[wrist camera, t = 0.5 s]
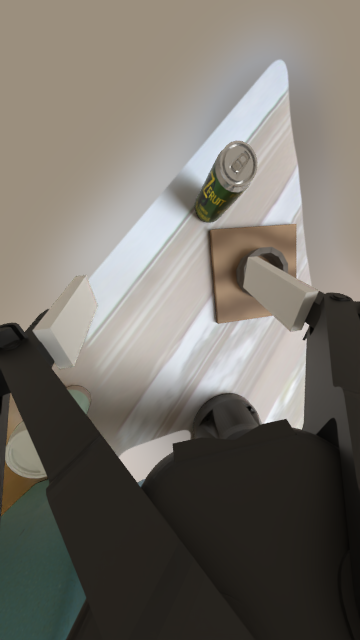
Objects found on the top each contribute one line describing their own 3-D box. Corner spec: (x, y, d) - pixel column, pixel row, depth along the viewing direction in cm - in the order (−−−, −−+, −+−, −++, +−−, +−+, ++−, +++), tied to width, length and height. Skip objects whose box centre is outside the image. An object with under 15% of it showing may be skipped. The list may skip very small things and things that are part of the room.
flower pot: (135, 515, 41) (106, 973, 13) (42, 548, 38) (-233, 1209, 11) (112, 442, 37) (8, 866, 10) (8, 474, 35) (-542, 1183, 7)
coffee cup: (47, 381, 33) (-8, 429, 22) (96, 376, 35) (68, 419, 23) (54, 422, 35) (5, 488, 23) (100, 415, 36) (77, 475, 24)
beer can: (207, 186, 33) (239, 127, 21) (226, 209, 34) (267, 166, 22) (187, 208, 33) (209, 161, 21) (207, 230, 34) (238, 197, 22)
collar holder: (292, 311, 40) (308, 313, 36) (216, 322, 37) (224, 326, 33) (292, 225, 37) (309, 217, 33) (209, 231, 34) (217, 223, 30)
